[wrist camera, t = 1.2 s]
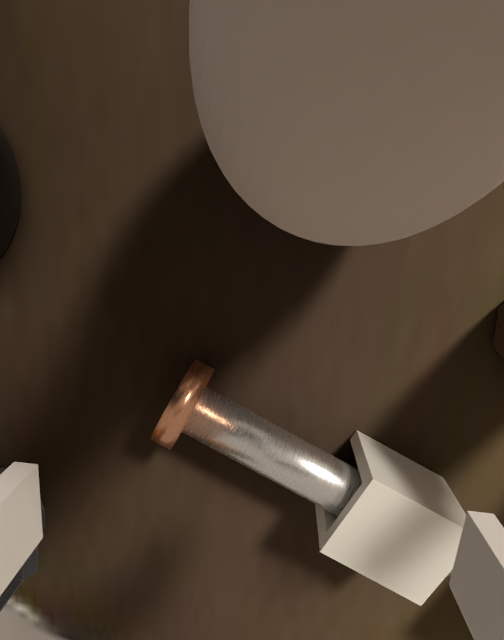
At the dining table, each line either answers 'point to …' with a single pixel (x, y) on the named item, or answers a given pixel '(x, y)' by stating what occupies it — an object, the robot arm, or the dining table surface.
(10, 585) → the canister
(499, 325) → the beer bottle
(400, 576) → the sleeve
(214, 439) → the bolt
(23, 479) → the robot arm
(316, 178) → the vase
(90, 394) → the dining table surface
